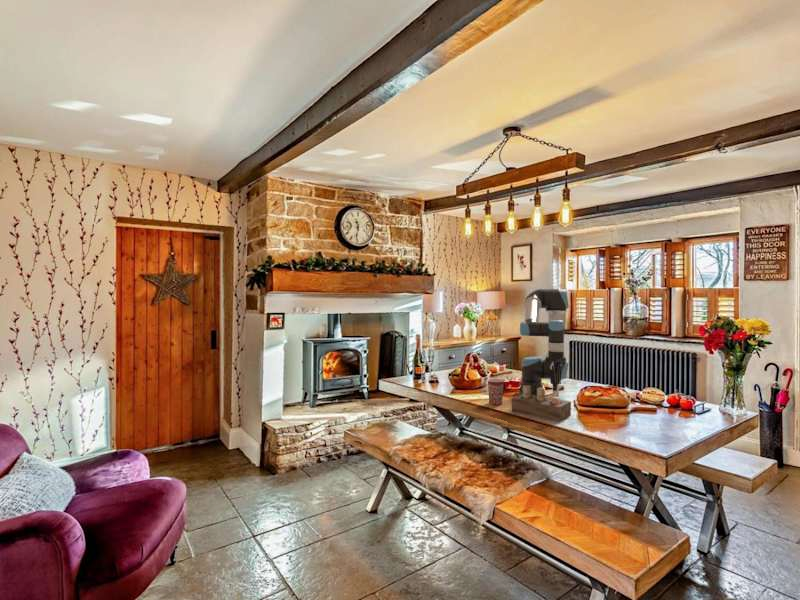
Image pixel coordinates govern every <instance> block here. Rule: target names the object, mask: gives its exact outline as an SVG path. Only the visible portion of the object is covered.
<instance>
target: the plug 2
mask: <svg viewBox="0 0 800 600" xmlns="http://www.w3.org/2000/svg"><path fill="white" fill-rule="evenodd" d="M551 398H552V403H553V404H560V400H561V398H560V397H553V396H552V397H551Z"/></svg>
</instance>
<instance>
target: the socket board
mask: <svg viewBox="0 0 800 600" xmlns="http://www.w3.org/2000/svg"><path fill="white" fill-rule="evenodd" d="M552 398H553V397H546V396H545V401H544V402H542V401H537V396H535V395H530V399H525V398H523V394H522V395H519V394H518V395H517V396H515V397H512V398H511V412H512V411H513V413H516V414H517V413H518V414H521V415H527V416H532V417H537V418H542V419H548V420H551V421H555V422H556V421H557V422H561V421H563V420H564V419H566V418H569V417H571V414H572V409H571V408H572V402H571V401H570V400H569V401H568V400H564V399H560V404H553V403H552Z"/></svg>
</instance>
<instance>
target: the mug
mask: <svg viewBox="0 0 800 600" xmlns="http://www.w3.org/2000/svg"><path fill="white" fill-rule="evenodd" d="M487 386H488V387H487V388H488V402H489V404H490V405H492V406H501V405H503V399H504V398H503V397H504V394H505V393H506V388H507V384H506V382H505V380H504V379H503V378H502V379H501V378H496V377H495V378H488V379H487Z"/></svg>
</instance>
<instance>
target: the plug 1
mask: <svg viewBox="0 0 800 600" xmlns="http://www.w3.org/2000/svg"><path fill="white" fill-rule="evenodd" d="M530 393H531V386H523V398H525V399H530Z"/></svg>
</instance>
